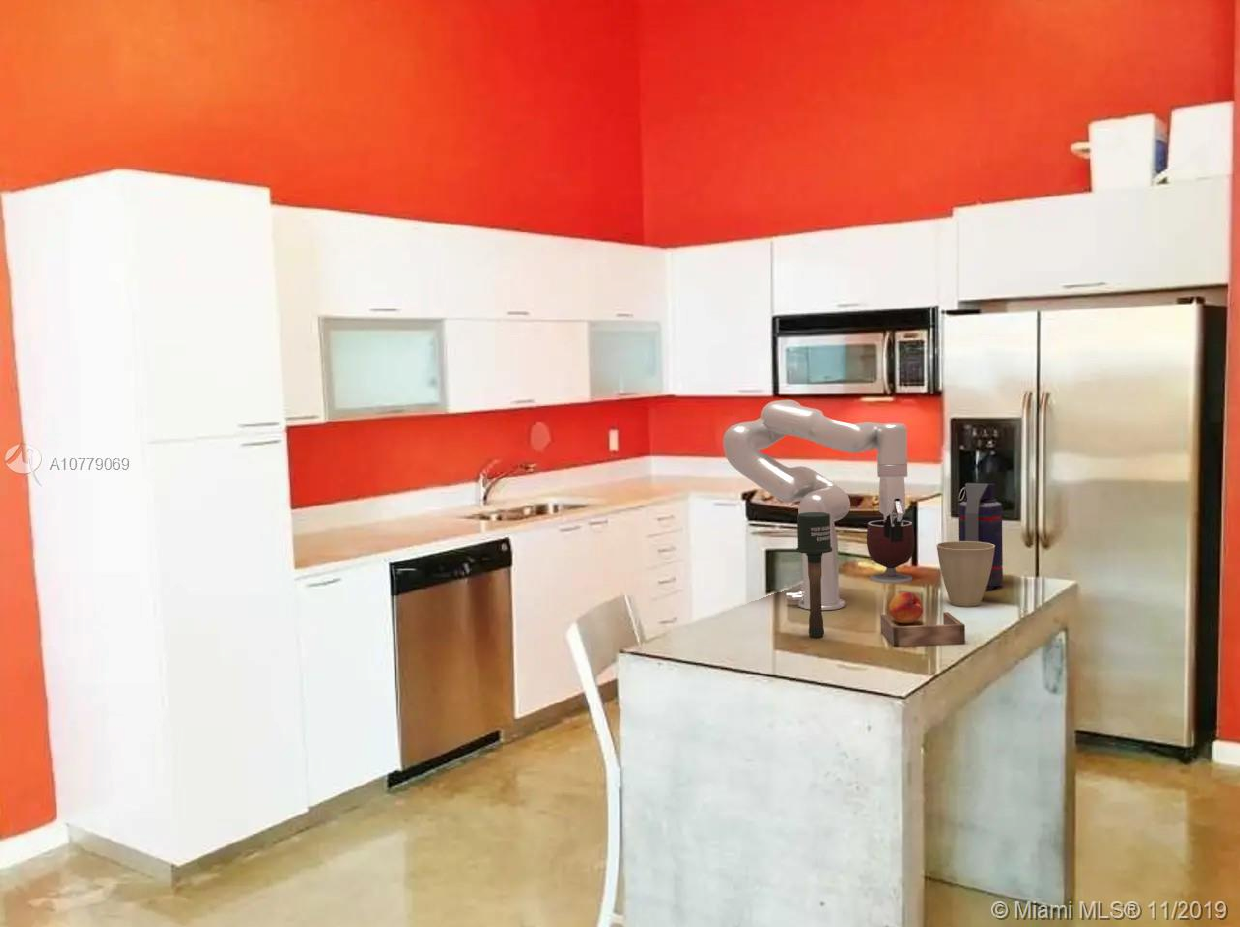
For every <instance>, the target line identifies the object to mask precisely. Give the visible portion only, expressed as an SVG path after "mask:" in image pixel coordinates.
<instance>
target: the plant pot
mask: <svg viewBox="0 0 1240 927" xmlns="http://www.w3.org/2000/svg"><path fill="white" fill-rule="evenodd" d="M994 549H995V545H993V544H990V543H985V542H975V541H959V540H953V541H943V542H939V543H936V551H937V557H938V563H939V568H940V573H941V577H942V579H943V583H944V587H945V590H946V592H947V596H948V598H949V601H950V603H951V604H952V605H954V606H957V607H978V606H980V605H981V602H982V600H983V598H984V595H985V592H986V591H987V590H986V587H987V583H988V580H989V576H990V572H991V567H992V562H993V556H994Z"/></svg>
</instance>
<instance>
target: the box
mask: <svg viewBox="0 0 1240 927" xmlns="http://www.w3.org/2000/svg"><path fill="white" fill-rule="evenodd" d="M942 617H943V620H942V621H943V622H942V623H943V624H929V625H928V624H926V625H925V624H924V625H923V624H921V625H904V626H903V625H900V626H898V625H897V624H896V623H895V622H894V621H892V620H891V618H889V617H888V616H887V615H886V614H880V617H879V618H880V634H881V635H882V636H883V637H884V638H885V639H886V640H887V641H888V642H889V643H890V645H891V646H892V647H894V648H900V647H904V648H905V647H926V646H927V647H928V646H930V647H931V646H955V645H957V646H958V645H966V632H965V630H966V628H965V627H966V626H965V624H964V623H962V621H960V619H957V618H956V617H955V616H954V615H953V614H951V613H950V612H948V611H947V612H942Z"/></svg>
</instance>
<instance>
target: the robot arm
mask: <svg viewBox="0 0 1240 927" xmlns="http://www.w3.org/2000/svg"><path fill="white" fill-rule="evenodd" d="M907 431H908V430H907V426H906V425H905V424H904V423H902V422H900V423H899V422H886V423H885V422H884V423H880V422H873V421H864V422H855V423H849V422H845V421H841V420H835V419H832V418H829V417H827V416H825V415H824V413H823V412H822V410H820V409H817V408H814V407H807V406H803V405H801V404H800V403H799V402H797V401H796V400H793V399H779V400H773V401H769V402H768V403H767V404H765V405H764V406H763V408H762V410H761V413H760V418H758V419H756V420H751V421H744V422H742V421H741V422H739V423H735V424H734V425H732V426H730V427H729V428H727V430H726V432H725V433H724V436H723V443H722V444H723V451H724V453H725V454H724V455H725V457H726V459H727V460H728V463H729V464H730V465H731V466H732V467H733V468H734V470H736V471H737V472H738V473H740V474H741V475H742V476H744V477H745V478H747V479H748V480H750V481H752V482H753V483H754V484H756V485H757V486H758V487H760V488H762V489H763V491H766V492H767V493H769V494H770V495H771V496H772V497H774V498H776V500H778V501H780V502H782V503H784V504H793V503H797V502H799V504H798V508H797V509H798V510H797V511H798V514H800V513H805V512H824V513H828V514H830V539H831V547H832V551H831V552H829V553H822V554H823V555H822V556H821V560H822V562H821V573H822V575H821V611H831V610H832V611H833V610H839V609H843V608H844V607H845V606H846V601H845V600H844V599H842V598H840V582H839V580H840V576H839V569H840V568H839V542H838V541H839V540H838V533H837V529H836V526H835V522H837V521H839V520H842V519H844V518H845V517H846V516H847V514H848V513H849V511H850V509H851V502H850V497H849V496H848V494H847V492H845V490H843V488H841V487H840V486H838V485H837V484H835V483H834V482H832V481H831V480H830V479H827V477H825V476H823V475H822V474H820V473H818V472H817V471H816V470H814V469H812V468H809V467H806V466H802V465H801V466H795V467H794V466H793V467H789V466H786V465H785V464H783V463H781V462H779V461H777V460H776V459H775V458H774V457H772V456H770V455H768V454H766V453H763V452H761V450H762V451H763V450H765V449H767V448H769V447H771V446H773V445H774V444H775V443H777V442H779V441H780V440H782V439H784V438H786V436H791V437H796V438H799V439H803V440H807V441H812V442H813V443H815V444H818V445H820V446H822V447H825V448H829V449H832V450H837V451H840V452H845V453H850V454H856V453H857V454H858V453H863V452H867V451H872V450H876V464H877V465H876V466H877V470H876V471H877V472H876V473H877V475H876V476H877V478H879V483H878V484H879V486H878V511H879V513H881V514H882V515H883V520H884V522H883V524H884V537H885V538H889V537H890V541H891V542H903V520H904V519H903V516H904V515H905V514H906V491H905V490H906V489H905V486H906V485H905V479H904V478H907V477H908V442H907V441H908V437H907V436H908V435H907V433H908V432H907ZM798 514H797V515H798ZM802 582H803V587H800V590H797V591H795V592H794V591H787V592H786V593H785V596H786V597H785V598H786V600H793V601H797V600H798V602H797V605H798V607H799V608H801V609H805V610H810V582H809V576H808V558H807V555H806V554H805V553H802Z"/></svg>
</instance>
